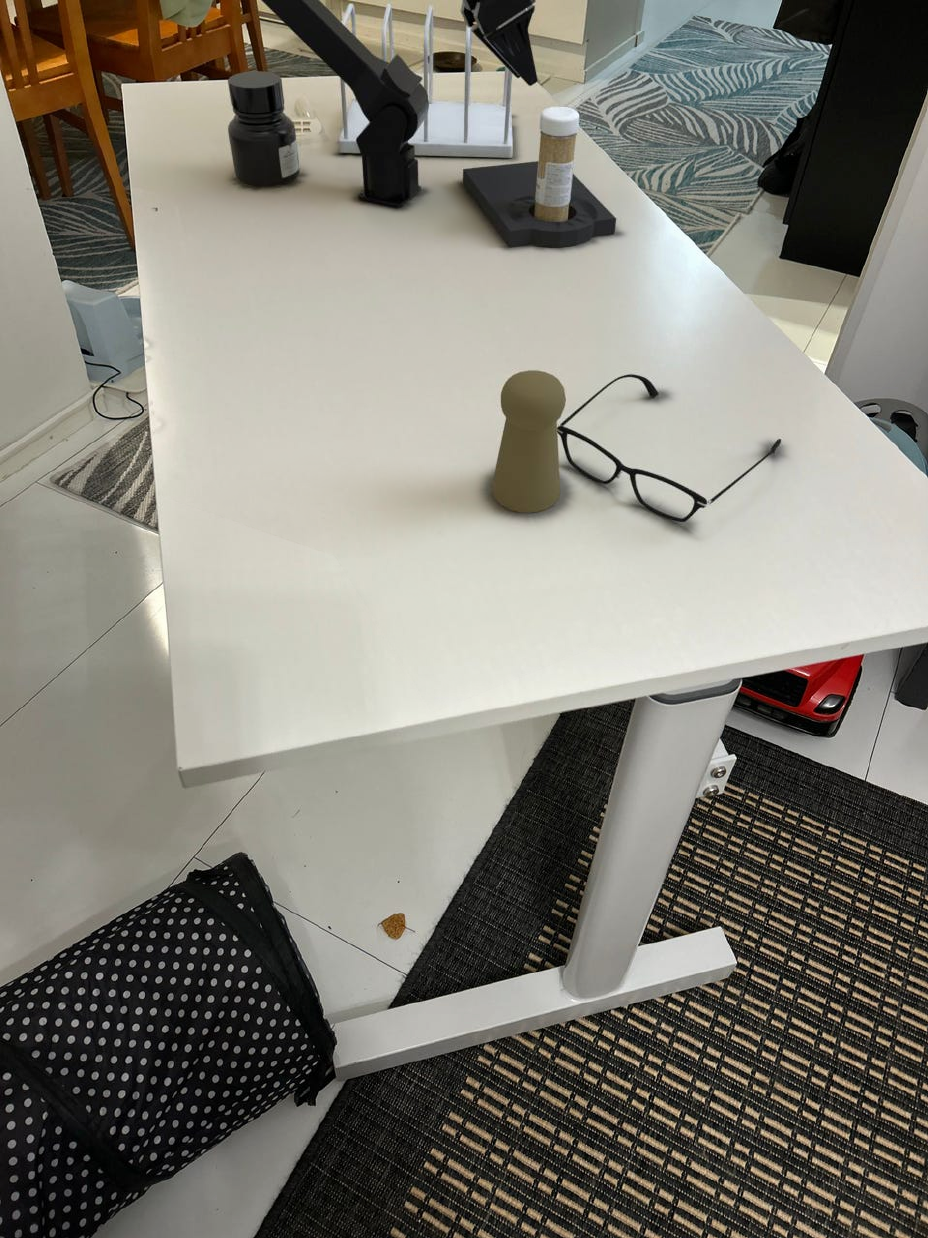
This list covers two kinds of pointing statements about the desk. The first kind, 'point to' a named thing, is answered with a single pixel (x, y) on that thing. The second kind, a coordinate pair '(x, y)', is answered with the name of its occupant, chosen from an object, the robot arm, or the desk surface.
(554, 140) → the sprinkles bottle
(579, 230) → the pad
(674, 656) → the desk surface
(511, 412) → the olive game pawn
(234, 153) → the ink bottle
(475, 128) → the file sorter
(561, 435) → the eyeglasses
